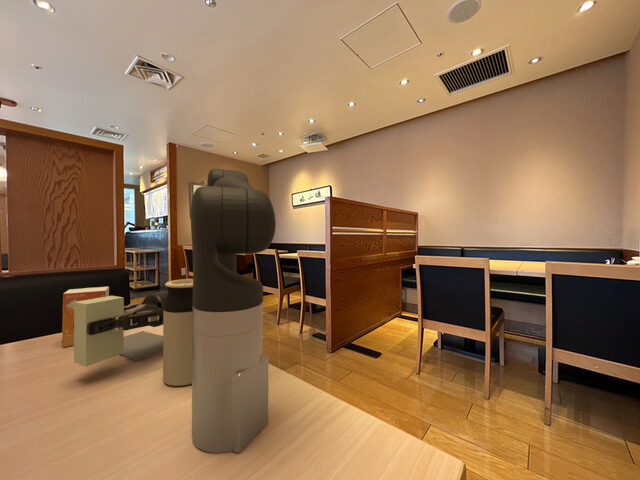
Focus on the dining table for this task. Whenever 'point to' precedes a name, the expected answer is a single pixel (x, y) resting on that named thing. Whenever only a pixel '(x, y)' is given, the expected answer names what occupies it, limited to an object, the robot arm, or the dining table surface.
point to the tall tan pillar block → (100, 344)
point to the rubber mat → (141, 345)
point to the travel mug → (178, 333)
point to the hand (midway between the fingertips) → (81, 327)
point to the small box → (68, 309)
